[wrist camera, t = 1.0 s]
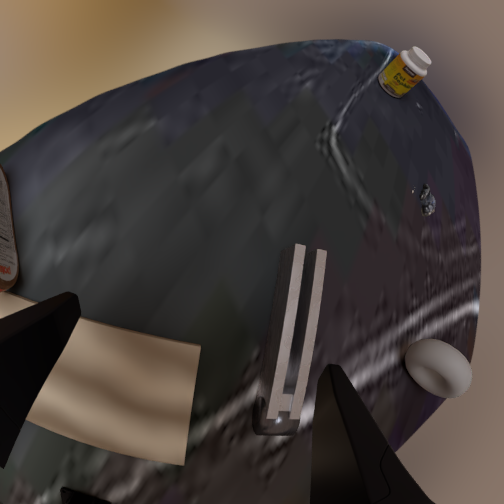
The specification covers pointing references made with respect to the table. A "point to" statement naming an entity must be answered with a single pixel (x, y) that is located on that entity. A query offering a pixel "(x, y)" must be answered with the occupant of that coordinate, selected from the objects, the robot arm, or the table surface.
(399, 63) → the supplement bottle
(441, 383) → the donut
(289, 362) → the tongs
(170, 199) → the table surface
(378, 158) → the table surface
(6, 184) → the tin
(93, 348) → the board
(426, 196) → the blueberries
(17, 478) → the table surface
